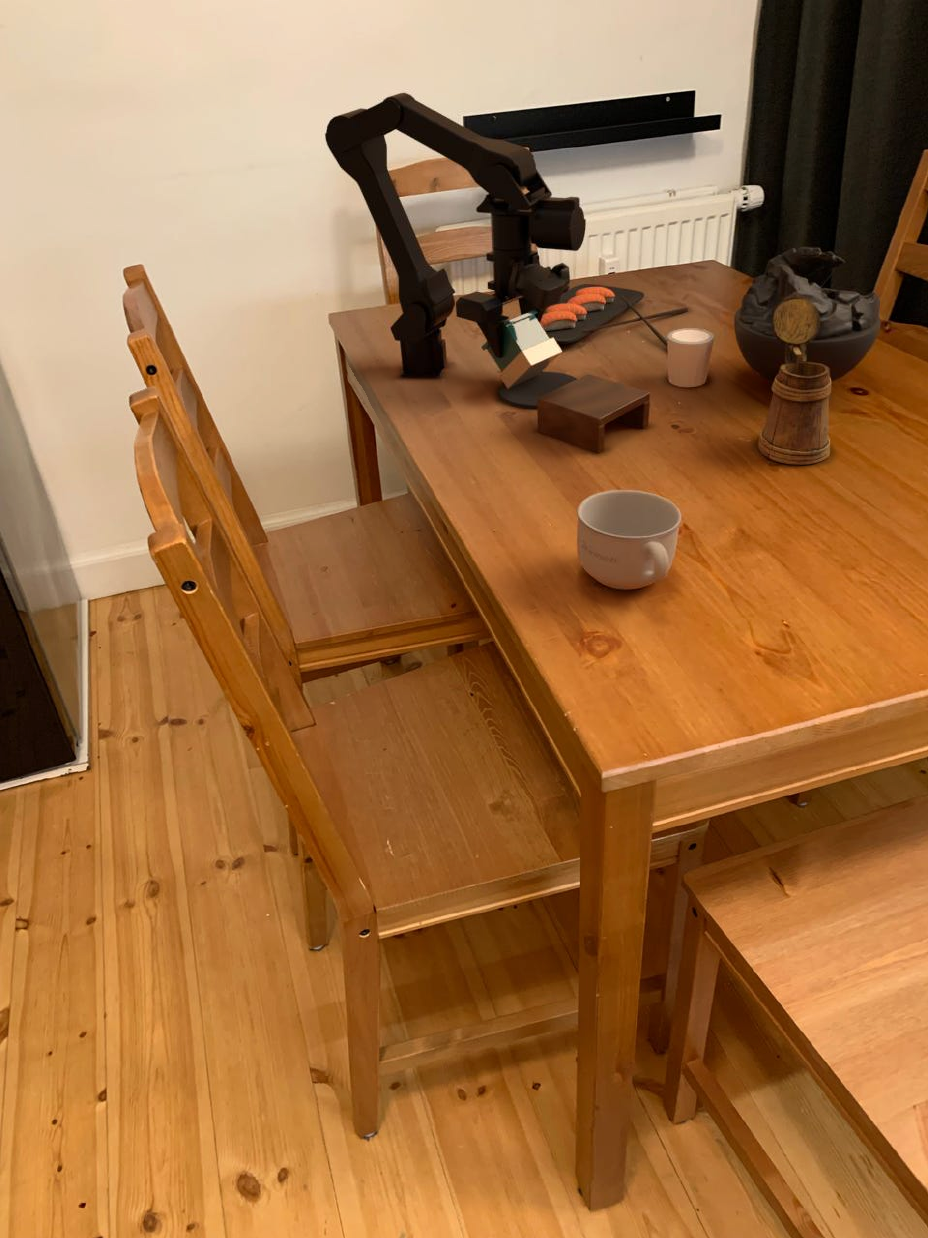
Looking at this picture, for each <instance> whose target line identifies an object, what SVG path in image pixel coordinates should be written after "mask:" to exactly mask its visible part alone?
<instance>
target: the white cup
mask: <svg viewBox="0 0 928 1238" xmlns="http://www.w3.org/2000/svg"><path fill="white" fill-rule="evenodd" d="M666 337H667V338H666V340H667V347H666V348H667V378H668V379H667V380H668V383H670V384H671V385H673V386H676V387H680V388H695V387H699V386H702V385H704V384H705V383H706V381H707V377H708V372H709V367H710V363H711V362H710V360H711V356H712V351H713V345H714V342H715V341H714V340H715V335H714V333H713V332H711V331H709V330H707V329H702V328H693V327H687V328H684V327H683V328H679V329H674V330H672V331H670V332H669V333H668V334H667V335H666Z"/></svg>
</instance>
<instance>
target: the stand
mask: <svg viewBox="0 0 928 1238" xmlns="http://www.w3.org/2000/svg"><path fill="white" fill-rule="evenodd" d="M650 398H651V393H650V392H649V391H646V390H643V389H641V388H640V389H639V388H636V387H633V386H629V385H626V384H622V383H619V382H616V381H613V380H609V379H607V378H602V377H599V376H596V375H593V374H590V373H587V374H585V375H583V376H582V377H579V378H577V380H575V381H573V382H571V383H568V384H566V385H564V386H562V387H560V388H558V389H556V390H554V391H552V392H550V393H548V394H545V395H543V396H541V397H539V398H537V409H536V411H537V413H536V414H537V432H538V433H541V434H544V435H546V436H549V437H552V438H555V439H557V440H560V441H563V442H565V443H569V444H571V445H574V446H576V447H579V448H583V449H585V450H588V451H591V452H593V453H596V454H600V453H601V452H603V451H604V450H605V425H606V424H608V423H610V422H611V421H614V420H616V421H618V422H622V423H624V424H626V425H627V424H628V425H630V426H633V427H637V428H640V429H642V430H644V429H645V428H648V426H649V419H650V403H651V402H650V400H651V399H650Z"/></svg>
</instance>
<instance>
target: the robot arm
mask: <svg viewBox="0 0 928 1238" xmlns="http://www.w3.org/2000/svg"><path fill="white" fill-rule="evenodd" d="M395 130H396V131H398V132H400V133H401V134H404V135H405V136H407V137H409V138H411V140H414V141H415V142H418V143H419V144H421V145H423V146H425V147H427V148H428V149H429V150H432V151H433V152H435V153H437V154H439V155H441V156H443V157H445V158H446V159H447V160H449V161H452V162H453V163H454V164H457V165H459V166H460V167H462V168H463V169H464V170H466V172H467V173H468V174H469V176H470V177H471V178H472V180H473V181H474V183H475V184H477V185H478V186H479V187H480V188H481V189H482V190H484V191H485V192H486V193H487V194H486V195H485V197H484V198H483V201H482V202H481V203H479V205H478V206H476V207H475V211H476V212H477V213H480V214H490V231H491V251H489V252H486V256H485V257H486V261H488V262H491V263H492V278H493V279H492V280H489V281H487V290H490V291H493V293H492V294H489V293H485V292H481V291H476V290H475V291H472V292H470V293H467V294H465V295H463V296H462V295H461V296H460V297H459V298H458V299H457V300H455V297H454V296H455V295H454V294H456V290H455V289H454V288H453V286H452V285H451V282H450V280H449V277H448V273H447V271H446V269H445V268H440V269H439V270H436V269H435V268H434V267H432V266H431V264H429V263H428V261H427V259H426V256H425V255H424V252H423V250H422V248H421V245H420V242H419V240H418V238H417V235H416V234H415V231H414V228H413V226H412V224H411V222H410V220H409V216H408V215H407V212H406V210H405V207H404V205H403V203H402V201H401V198H400V196H399V193H398V191H397V189H396V187H395V184H394V182H393V180H392V177H391V174H390V172H389V169H388V145H387V141H386V138H385V136H386V135H388V134H390V133H392V132H394V131H395ZM324 137H325V143H326V145H327V148H328V150H329V152H330V153H331V155H332V156H333V158H334V160H335V161H336V162H337V164H338V166H339V168H340V169H341V170H343V172H344V173H346V174H347V175H348V176H349V177H350V178H351V179H352V180H353V181H355V183H356V184H357V186H358V188H359V190H360V193H361V194H362V197H363V199H364V201H365V204H366V206H367V208H368V211H369V213H370V215H371V217H372V220H373V222H374V224H375V226H376V229H377V231H378V233H379V236H380V238H381V240H382V242H383V244H384V247H385V249H386V251H387V254H388V256H389V258H390V261H391V262H392V265H393V268H394V270H395V272H396V274H397V278H398V301H399V305H400V307H401V312H402V314H401V315H400V316H399V317H398V318H397V319H396V320H395V322H394V323H393V324H391V326H390V331H391V334H392V336H393V339H394V340H395V341H396V342H399V345H400V355H401V366H402V370H401V371H400V374H399V375H400V378H401V377H402V378H439V377H441V376H442V375H441V374H442V373H443V371H444V370H445V368H446V366H447V364H448V356H447V355H448V354H447V344H446V342H447V341H446V339H445V338H443V335H442V334H443V333H442V328H443V327H445V326H446V324H447V322H448V321H447V320H448V318H449V317H450V316H451V315H452V313H453V312H454V308H455V312H456V315H455V316H456V318H460V319H463V320H467V321H469V322H474V323H476V324H477V326H478V329H480V330H481V333H482V335H483V336H484V339H485V340H486V342H487V341H488V343H489V345H490V347H491V349H492V351H493V353H494V355H495V357H497V358H502V354H503V325H504V324H505V323H506V321H508V320H510V316H507V315H503V313H504V306H505V305H507V304H510V303H512V302H516V301H518V307H519V311H520V316H521V315H523V314H526V313H528V312H530V311H533V310H536V311H537V314H536V315H535V317H536V318H537V320H538V321H539V323H540V322H541V319H542V316H543V314H544V311H545V309H546V308H547V307H548V306H550V305H552V304H558V303H559V301H560V298H561V295H562V293H565V292H567V291H568V290H569V289H571V288H570V281H571V275H570V267H569V266H568V265H567V264H566V263H564V262H561V263H559V264H555V265H554V266H553V267H551V266H549V265H548V266H546V267H545V266H542V265H541V263H540V262H541V261H540V255H539V252H538V251H537V250H533V247H532V246H533V245H535V246H536V248H538V249H546V250H558V251H572V252H578V251H579V250H580V249H581V247H582V245H583V242H584V239H585V235H586V228H587V227H586V225H587V220H586V218H585V214H584V211H583V208H582V207H581V206H580V205H581V204H580V203H581V202H580V200H581V199H580V197H579V196H567V197H553V196H552V195H553V194H552V191H551V190H550V188H549V187H548V184H547V183H546V182H545V180H544V178H543V176H542V175H541V174H540V172H539V170H537V164H536V161H535V156H534V154H533V153H532V152H531V151H530V150H529V149H528V148H526V147H525V146H522V145H518V144H515V143H512V142H510V141H506V140H502V139H496V138H489V137H485V136H482V135H480V134H478V133H475V132H474V131H472V130H470V129H469V128H467V127H465V126H463V125H461V124H459V123H458V122H456V121H454V120H452V119H451V118H449V117H447V116H446V115H443V114H442V113H440V112H439V111H436V110H435V109H433V108H431V107H429V106H427V105H425V103H424V104H423V103H422V102H421V101H418V100H416V99H415V97H413V96H412V95H411V94H409V93H408V92H407V93H406V92H399V93H396V94H393V95H390V96H387V97H385V98H384V99H383V100H382V101H381V102H379V103H377V104H375V105H373V106H370V107H369V108H360V107H359V108H357V109H354V110H351V111H348V112H345V113H342V114H339V115H336V116H333V117H332V118H331V119H330V120H329V122H328V124H327V126H326V131H325V133H324ZM524 190H527V193H524V192H523V191H524Z"/></svg>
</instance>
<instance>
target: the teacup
mask: <svg viewBox="0 0 928 1238" xmlns="http://www.w3.org/2000/svg"><path fill="white" fill-rule="evenodd" d="M576 515H577V528H576V529H577V531H576V536H577V537H576V551H577V557H578V561H579V563H580V565H581V567H582V568H583V570H584V571H585V572H586V573H587V574H588V575H589V576H591V577H592V578H594V579H595V580H596V581H597V582H599V583H600V584H602V585H603V586H606V587H608V588H611V589H617V590H636V589H642V588H644V587H647V586H650V585H652V584H653V583H659V582H661V581H663V580H665V579H666V578H667V576H668V574H669V570H670V569H671V567H672V564H673V563H674V558H675V554H676V550H677V544H678V537H679V530H680V525H681V524H682V519H683V516H682V513H681V510H680V509H679V507H678V506H677V505H676V504H675V503H673V502H672V501H670V500H669V499H667V498H665V497H663V496H661V495H658V494H654V493H651V492H649V491H642V490H634V489H609V490H605V491H601V492H597V493H594V494H591V495H590V496H588V497H586V498H584V499H583V500H582V501H581V502H580V503H579V505H578V507H577V510H576Z"/></svg>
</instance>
